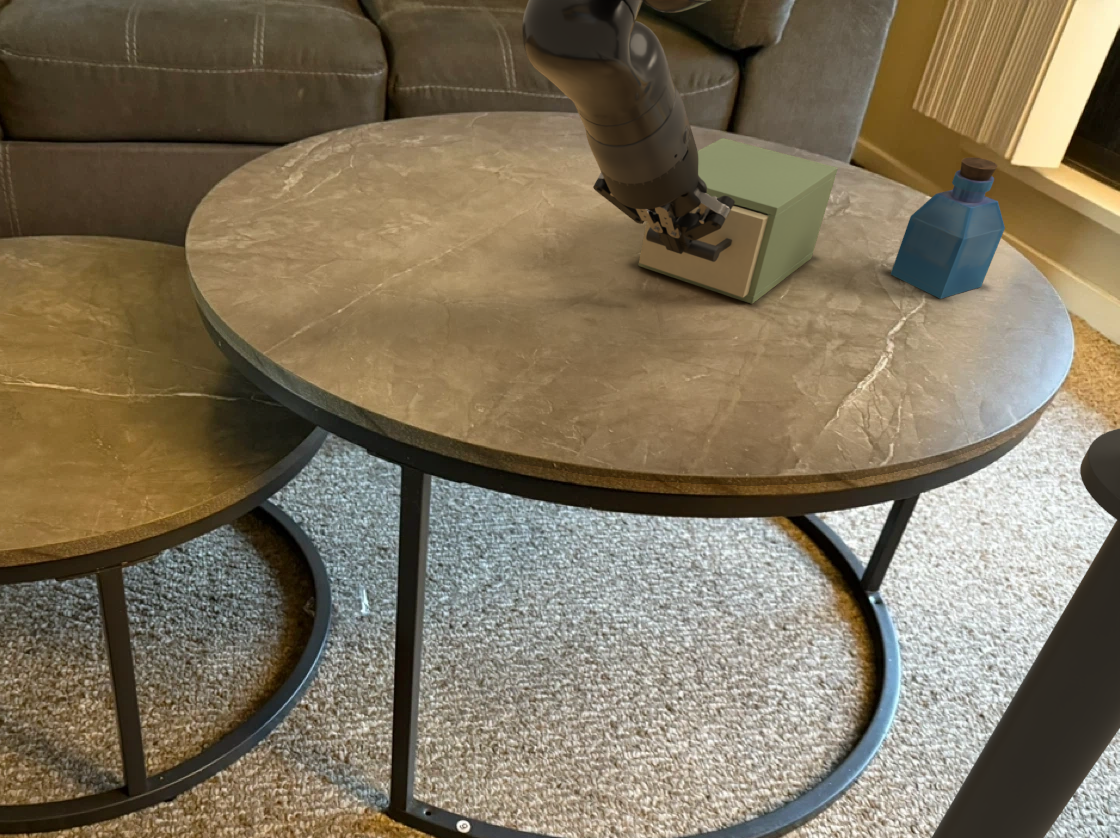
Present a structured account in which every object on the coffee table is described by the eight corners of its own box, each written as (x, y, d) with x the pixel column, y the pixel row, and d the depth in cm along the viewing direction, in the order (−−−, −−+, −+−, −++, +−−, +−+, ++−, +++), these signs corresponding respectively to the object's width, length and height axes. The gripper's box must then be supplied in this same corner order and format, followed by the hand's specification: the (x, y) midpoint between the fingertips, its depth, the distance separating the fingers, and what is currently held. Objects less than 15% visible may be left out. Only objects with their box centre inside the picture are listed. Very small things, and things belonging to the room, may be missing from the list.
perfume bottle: (940, 298, 105) (986, 179, 97) (890, 274, 109) (930, 157, 101) (981, 286, 107) (1029, 169, 100) (930, 263, 111) (973, 148, 104)
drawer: (723, 312, 99) (743, 232, 94) (617, 276, 104) (631, 198, 99) (799, 255, 110) (821, 180, 105) (700, 224, 115) (716, 152, 110)
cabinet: (752, 304, 102) (777, 208, 96) (637, 265, 108) (655, 173, 102) (811, 258, 111) (838, 167, 105) (703, 225, 117) (722, 137, 111)
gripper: (547, 159, 86) (599, 257, 101) (694, 202, 80) (726, 300, 95) (591, 78, 86) (636, 189, 101) (741, 115, 80) (765, 228, 95)
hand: (680, 243), depth 98 cm, fingers closed
